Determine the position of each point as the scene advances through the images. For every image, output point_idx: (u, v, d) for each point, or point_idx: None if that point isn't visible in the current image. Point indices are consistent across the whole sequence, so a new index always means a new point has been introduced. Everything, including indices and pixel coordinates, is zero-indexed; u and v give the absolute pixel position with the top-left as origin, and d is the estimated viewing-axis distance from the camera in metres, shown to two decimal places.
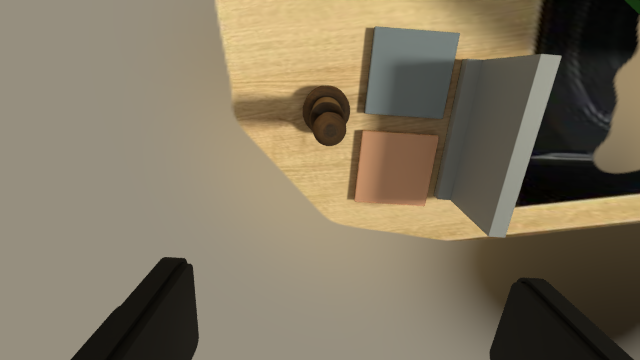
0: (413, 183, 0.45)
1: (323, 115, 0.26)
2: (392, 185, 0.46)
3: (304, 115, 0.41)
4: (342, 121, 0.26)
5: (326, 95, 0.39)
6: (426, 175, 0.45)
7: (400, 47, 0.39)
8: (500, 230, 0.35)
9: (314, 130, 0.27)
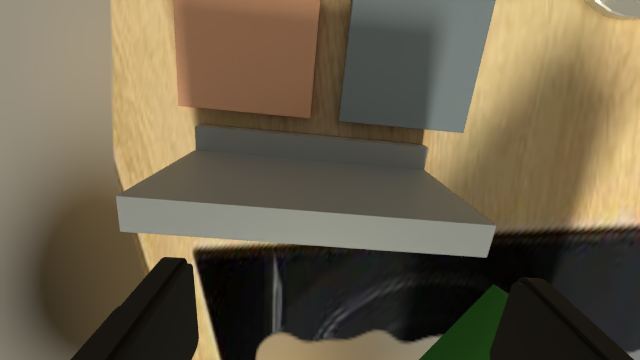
0: (222, 78, 0.24)
1: None
2: (213, 36, 0.23)
3: None
4: None
5: None
6: (239, 103, 0.25)
7: (458, 37, 0.24)
8: (135, 219, 0.16)
9: None
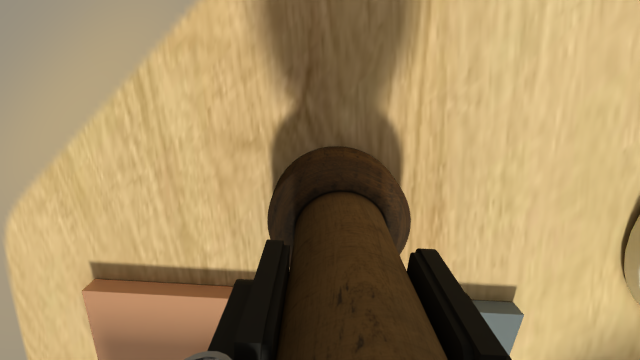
0: None
1: None
2: None
3: (327, 163, 0.13)
4: None
5: (389, 233, 0.13)
6: None
7: None
8: None
9: None
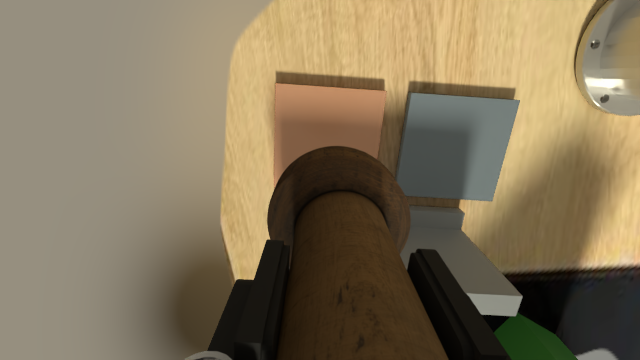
0: None
1: None
2: (303, 139, 0.31)
3: (327, 162, 0.13)
4: None
5: (389, 232, 0.13)
6: None
7: (489, 134, 0.31)
8: None
9: None
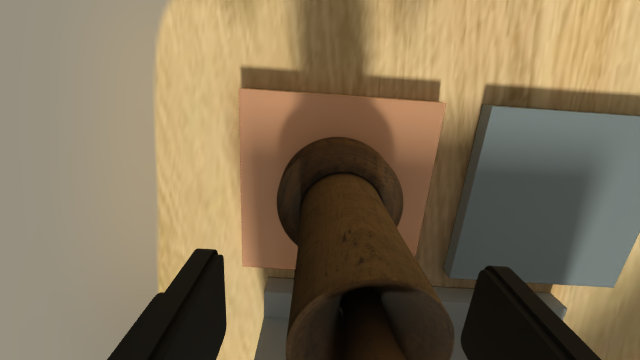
0: None
1: None
2: None
3: (330, 149, 0.14)
4: None
5: None
6: None
7: (625, 179, 0.17)
8: None
9: None
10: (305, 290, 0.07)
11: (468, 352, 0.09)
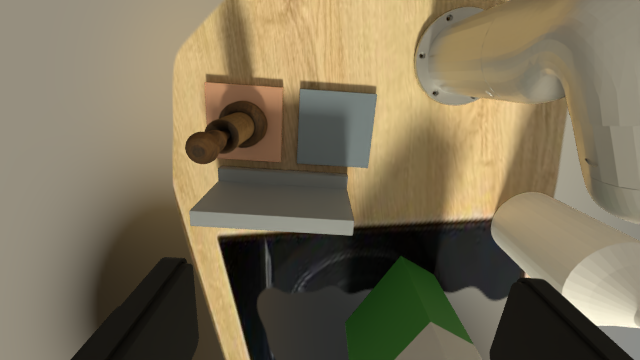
0: None
1: (214, 143, 0.28)
2: None
3: (235, 103, 0.41)
4: (210, 161, 0.28)
5: (255, 125, 0.41)
6: (241, 155, 0.46)
7: (358, 118, 0.44)
8: (197, 220, 0.37)
9: (198, 135, 0.27)
10: None
11: None
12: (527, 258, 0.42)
